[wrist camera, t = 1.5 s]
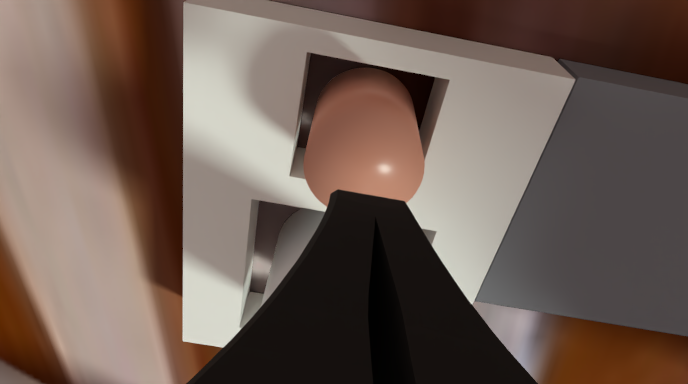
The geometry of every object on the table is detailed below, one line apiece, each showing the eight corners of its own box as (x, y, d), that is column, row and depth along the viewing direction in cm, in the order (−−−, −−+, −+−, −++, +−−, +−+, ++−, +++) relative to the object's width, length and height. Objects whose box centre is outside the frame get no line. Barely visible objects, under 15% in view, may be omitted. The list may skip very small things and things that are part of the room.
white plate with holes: (552, 57, 13) (575, 80, 12) (432, 342, 20) (437, 380, 18) (205, -13, 13) (183, 2, 11) (197, 305, 19) (182, 341, 18)
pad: (825, 111, 14) (870, 134, 13) (674, 306, 18) (696, 337, 17) (559, 58, 13) (578, 77, 12) (467, 271, 18) (475, 301, 16)
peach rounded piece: (426, 78, 13) (439, 125, 11) (400, 166, 15) (407, 226, 12) (323, 58, 13) (312, 101, 10) (308, 149, 14) (295, 207, 12)
